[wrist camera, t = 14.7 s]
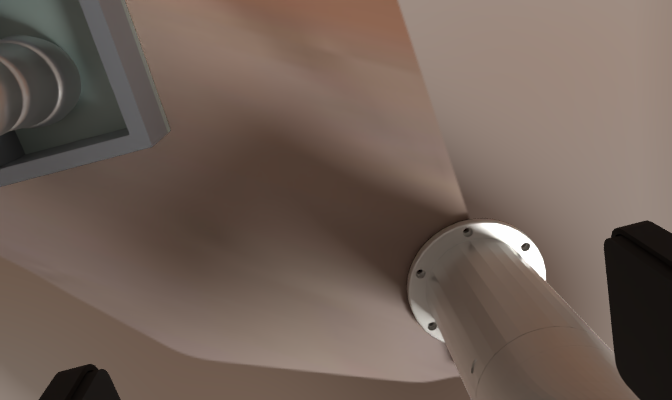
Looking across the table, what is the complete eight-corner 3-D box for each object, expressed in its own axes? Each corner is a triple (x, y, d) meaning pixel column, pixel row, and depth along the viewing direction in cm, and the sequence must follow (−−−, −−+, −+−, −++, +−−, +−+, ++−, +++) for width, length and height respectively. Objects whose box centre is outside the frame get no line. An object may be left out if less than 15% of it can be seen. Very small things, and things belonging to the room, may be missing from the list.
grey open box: (170, 130, 45) (152, 146, 39) (23, 169, 45) (-17, 191, 39) (108, -46, 40) (77, -56, 35) (-54, -2, 40) (-112, -5, 35)
